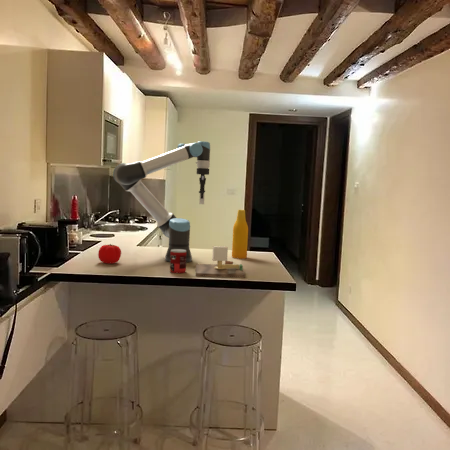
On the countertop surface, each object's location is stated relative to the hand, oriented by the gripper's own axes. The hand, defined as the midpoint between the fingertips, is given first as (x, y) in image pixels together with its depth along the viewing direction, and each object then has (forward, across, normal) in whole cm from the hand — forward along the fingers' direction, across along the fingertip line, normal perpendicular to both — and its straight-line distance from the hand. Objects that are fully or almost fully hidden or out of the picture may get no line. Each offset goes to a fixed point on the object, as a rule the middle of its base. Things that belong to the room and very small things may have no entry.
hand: (201, 203), depth 282 cm
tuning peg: (+30, +45, +13) cm, 56 cm away
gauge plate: (+32, +46, +10) cm, 57 cm away
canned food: (+32, +49, -11) cm, 59 cm away
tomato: (+32, +32, -48) cm, 66 cm away
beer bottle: (+32, +2, +24) cm, 40 cm away
